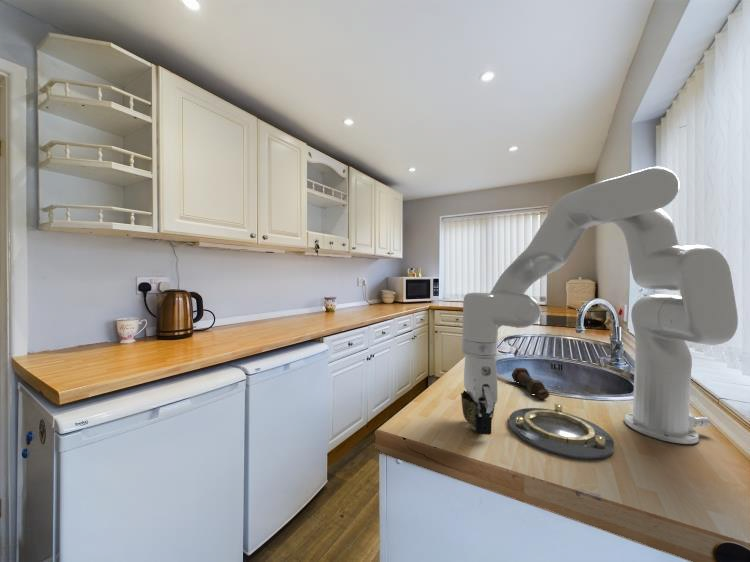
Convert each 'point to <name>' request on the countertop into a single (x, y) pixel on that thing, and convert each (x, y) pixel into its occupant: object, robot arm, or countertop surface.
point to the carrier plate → (561, 433)
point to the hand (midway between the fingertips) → (477, 423)
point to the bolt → (530, 383)
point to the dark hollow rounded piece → (471, 409)
